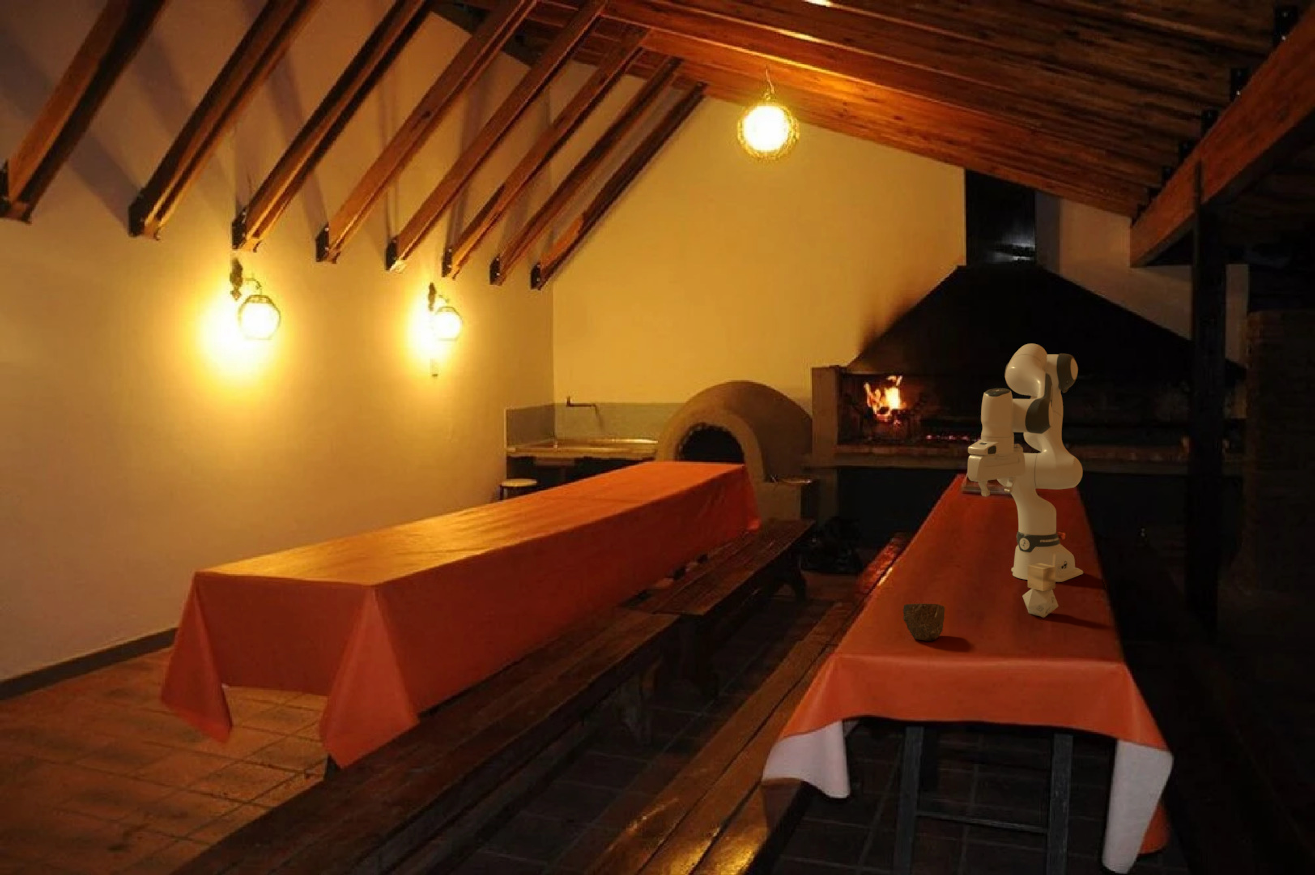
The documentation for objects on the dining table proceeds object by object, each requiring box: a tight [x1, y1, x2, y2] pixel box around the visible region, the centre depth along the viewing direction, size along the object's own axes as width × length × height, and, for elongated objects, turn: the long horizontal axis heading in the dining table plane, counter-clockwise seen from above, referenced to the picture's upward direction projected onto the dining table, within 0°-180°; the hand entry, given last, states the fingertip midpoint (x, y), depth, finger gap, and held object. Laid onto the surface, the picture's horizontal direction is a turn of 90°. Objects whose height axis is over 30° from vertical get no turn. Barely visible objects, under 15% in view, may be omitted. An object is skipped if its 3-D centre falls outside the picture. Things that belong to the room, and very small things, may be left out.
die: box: [1022, 588, 1059, 618], centre depth 273 cm, size 8×9×10 cm
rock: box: [902, 603, 946, 642], centre depth 255 cm, size 12×10×10 cm
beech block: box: [1027, 563, 1056, 591], centre depth 272 cm, size 5×5×6 cm
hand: (997, 494), depth 286 cm, fingers open, 8 cm apart
